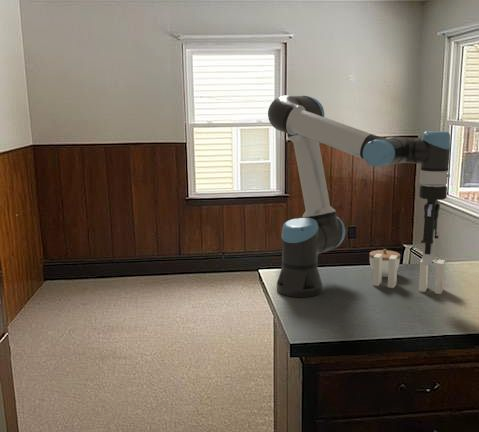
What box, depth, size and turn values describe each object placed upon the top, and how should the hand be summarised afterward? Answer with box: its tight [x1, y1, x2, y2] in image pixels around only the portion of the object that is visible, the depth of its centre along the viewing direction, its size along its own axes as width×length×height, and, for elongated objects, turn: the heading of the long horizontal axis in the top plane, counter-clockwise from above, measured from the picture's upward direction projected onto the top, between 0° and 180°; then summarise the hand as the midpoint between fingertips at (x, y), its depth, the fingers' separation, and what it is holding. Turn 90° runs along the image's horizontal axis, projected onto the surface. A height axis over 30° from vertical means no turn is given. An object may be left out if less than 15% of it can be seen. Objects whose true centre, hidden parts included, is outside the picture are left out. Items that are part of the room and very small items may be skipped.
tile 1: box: [372, 254, 383, 287], centre depth 179 cm, size 2×5×10 cm, turn 154°
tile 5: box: [434, 259, 446, 295], centre depth 170 cm, size 2×5×10 cm, turn 154°
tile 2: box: [387, 255, 398, 289], centre depth 177 cm, size 2×5×10 cm, turn 154°
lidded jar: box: [369, 248, 401, 278], centre depth 189 cm, size 11×11×9 cm
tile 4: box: [418, 257, 429, 293], centre depth 172 cm, size 2×5×10 cm, turn 154°
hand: (428, 261), depth 157 cm, fingers closed on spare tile, 5 cm apart
